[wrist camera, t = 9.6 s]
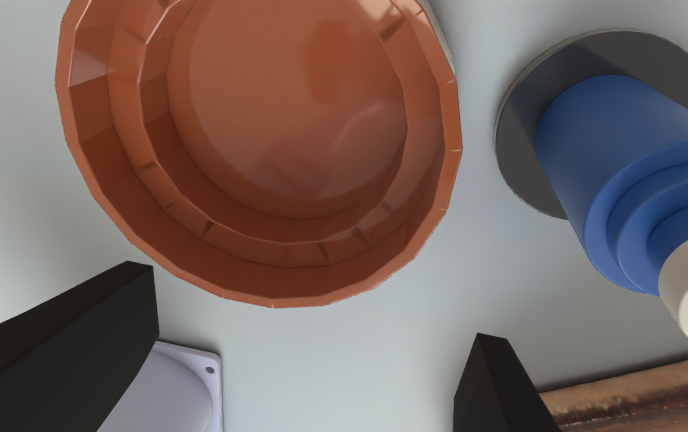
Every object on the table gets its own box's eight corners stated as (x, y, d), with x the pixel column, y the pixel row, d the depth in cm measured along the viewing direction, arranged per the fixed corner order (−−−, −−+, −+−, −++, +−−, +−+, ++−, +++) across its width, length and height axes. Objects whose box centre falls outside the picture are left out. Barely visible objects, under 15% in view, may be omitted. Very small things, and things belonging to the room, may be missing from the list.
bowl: (418, 268, 21) (415, 338, 18) (149, 217, 23) (90, 271, 19) (497, -61, 15) (518, -66, 11) (114, -108, 16) (12, -128, 12)
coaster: (650, 228, 19) (656, 236, 18) (473, 197, 19) (474, 204, 19) (745, 44, 15) (756, 48, 15) (525, 14, 16) (528, 16, 15)
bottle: (634, 196, 18) (808, 408, 9) (519, 177, 18) (591, 364, 10) (687, 84, 15) (973, 230, 7) (557, 65, 16) (688, 182, 8)
